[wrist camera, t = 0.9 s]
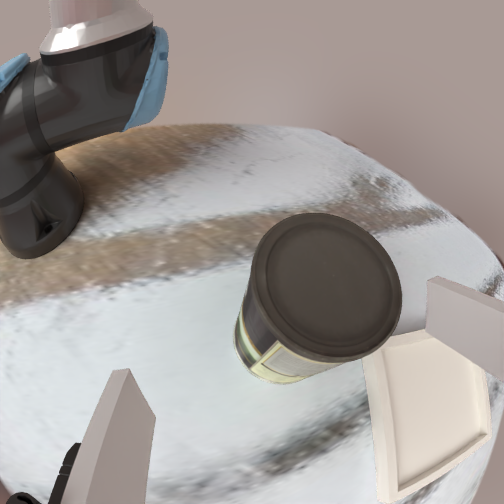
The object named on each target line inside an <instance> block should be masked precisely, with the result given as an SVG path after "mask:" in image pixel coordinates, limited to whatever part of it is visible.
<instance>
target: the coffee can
mask: <svg viewBox="0 0 504 504" xmlns="http://www.w3.org/2000/svg"><path fill="white" fill-rule="evenodd" d="M401 307H402V291H401V284H400V280H399V276H398V273H397V271H396V269H395V266H394V264H393V262H392V260H391V258H390V256H389V255H388V253H387V252H386V251H385V249H384V248H383V247H382V245H381V244H380V243H379V242H378V241H377V240H376V239H375V238H374V237H373V236H372V235H370V234H369V233H368V232H367V231H365V230H364V229H363V228H361V227H360V226H358V225H356V224H355V223H353V222H351V221H349V220H346V219H344V218H341V217H338V216H334V215H330V214H324V213H303V214H297V215H294V216H291V217H288V218H286V219H284V220H282V221H280V222H279V223H277V224H276V225H275V226H273V227H272V228H271V229H270V230H269V231H268V232H267V233H266V234H265V235H264V236H263V238H262V239H261V241H260V242H259V244H258V246H257V248H256V250H255V253H254V257H253V261H252V266H251V274H250V278H249V281H248V285H247V288H246V291H245V295H244V299H243V302H242V306H241V309H240V312H239V316H238V318H237V320H236V323H235V326H234V332H233V342H234V347H235V351H236V353H237V356H238V358H239V360H240V361H241V363H242V364H243V365H244V367H245V368H246V369H247V370H248V371H249V372H250V373H251V374H253V375H254V376H256V377H257V378H259V379H261V380H263V381H266V382H269V383H274V384H290V383H295V382H298V381H300V380H303V379H305V378H307V377H310V376H312V375H315V374H318V373H321V372H323V371H326V370H328V369H331V368H333V367H336V366H339V365H341V364H343V363H346V362H350V361H354V360H357V359H360V358H363V357H365V356H368V355H370V354H371V353H373V352H375V351H376V350H378V349H379V348H380V347H381V346H382V345H383V344H384V343H385V342H386V341H387V340H388V339H389V338H390V336H391V335H392V333H393V332H394V330H395V328H396V326H397V323H398V321H399V317H400V314H401Z"/></svg>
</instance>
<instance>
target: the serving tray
mask: <svg viewBox="0 0 504 504" xmlns="http://www.w3.org/2000/svg"><path fill="white" fill-rule="evenodd" d="M361 359H362V364H363V370H364V376H365V382H366V388H367V395H368V402H369V409H370V416H371V424H372V433H373V442H374V453H375V466H376V482H377V501H380V502H383V503H386V504H391V503H394V502H396V501H398V500H400V499H402V498H404V497H406V496H407V495H409V494H411V493H413V492H415V491H417V490H419V489H420V488H422V487H424V486H426V485H427V484H429V483H431V482H432V481H434V480H435V479H437V478H439V477H440V476H442V475H443V474H445V473H446V472H448V471H449V470H451V469H452V468H454V467H455V466H457V465H458V464H459V463H461V462H462V461H463V460H465V459H466V458H467V457H469V456H470V455H471V454H473V453H474V452H475V451H476V450H478V449H479V448H480V447H481V446H483V445H484V444H485V443H486V442H487V441H489V440H490V439H491V438H492V427H491V413H490V403H489V394H488V387H487V381H486V374H485V370H484V369H482V368H481V367H479V366H478V365H476V364H475V363H473V362H472V361H470V360H468V359H467V358H465V357H464V356H462V355H461V354H459V353H458V352H456V351H455V350H453V349H452V348H450V347H448V346H447V345H445V344H444V343H442V342H441V341H439V340H438V339H436V338H434V337H433V336H431V335H430V334H428V333H427V332H425V329H422V330H418V331H414V332H409V333H405V334H400V335H395V336H390V338H389V339H388V340H387V341H386V342H385V343H384V344H383V345H382V346H381V347H380V348H379V349H378V350H376V351H375V352H373V353H371V354H370V355H368V356H365V357H363V358H361Z"/></svg>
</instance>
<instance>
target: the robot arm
mask: <svg viewBox="0 0 504 504" xmlns="http://www.w3.org/2000/svg"><path fill="white" fill-rule="evenodd" d="M49 8H50V18H51V29H50V32H49V33H48V35H47V36H46V38H45V39H44V41H43V42H42V44H41V45H40V55H41V59H39V60H36V61H34V62H30V57H28V55H27V54H26V53H23V54H20V55H19V56H17V57H14V58H13V59H11V60H10V61H8V62H6V63H5V64H3V65H2V66H0V239H1V241H2V243H3V244H4V246H5V247H6V248H7V249H8V250H9V252H10V253H11V254H13V255H14V256H16V257H18V258H22V259H30V258H35V257H38V256H41V255H43V254H45V253H47V252H49V251H50V250H52V249H53V248H55V247H56V246H57V245H59V244H60V243H61V242H62V241H63V240H64V239H65V238H66V237H67V236H68V235H69V233H70V232H71V231H72V229H73V228H74V227H75V225H76V223H77V222H78V220H79V218H80V215H81V213H82V210H83V205H84V195H83V191H82V189H81V186H80V184H79V181H78V179H77V178H76V176H75V175H74V174H73V173H72V172H70V171H69V170H67V168H66V167H65V166H64V164H63V163H62V162H61V161H60V160H59V158H58V157H57V156H56V155H55V151H58V150H61V149H64V148H66V147H69V146H72V145H75V144H78V143H81V142H84V141H87V140H90V139H94V138H97V137H100V136H104V135H107V134H111V133H114V132H124V131H126V130H127V129H129V128H132V127H136V126H139V125H143V124H146V123H149V122H150V121H152V120H153V119H154V118H155V117H156V116H157V115H158V113H159V112H160V109H161V107H162V104H163V100H164V96H165V90H166V84H167V75H168V61H167V57H168V49H169V45H168V37H167V33H166V31H165V30H164V29H163V28H160V27H157V26H154V27H153V15H152V14H151V13H150V12H149V11H147V10H146V9H144V8H143V7H142V6H141V5H140V4H139V3H138V0H49ZM425 332H427V333H428V334H430V335H431V336H433V337H434V338H436V339H438V340H439V341H441V342H442V343H444V344H445V345H447V346H448V347H450V348H452V349H453V350H455V351H456V352H458V353H459V354H461V355H462V356H464V357H465V358H467V359H468V360H470V361H472V362H473V363H475V364H476V365H478V366H479V367H481V368H482V369H484V370H485V371H487V372H488V373H490V374H491V375H493V376H494V377H496V378H497V379H499V380H500V381H502V382H503V383H504V301H501V300H499V299H496V298H494V297H491V296H489V295H486V294H484V293H481V292H479V291H476V290H474V289H471V288H469V287H466V286H463V285H461V284H458V283H456V282H453V281H450V280H448V279H445V278H442V277H440V276H436V277H434V278H432V279H430V280H427V309H426V326H425ZM155 420H156V417H155V415H154V413H153V412H152V410H151V408H150V407H149V405H148V403H147V401H146V399H145V398H144V396H143V394H142V392H141V390H140V388H139V387H138V385H137V383H136V381H135V379H134V377H133V375H132V373H131V371H130V369H129V368H128V369H122V370H114V371H112V373H111V376H110V378H109V380H108V382H107V384H106V386H105V389H104V391H103V393H102V395H101V398H100V400H99V402H98V404H97V407H96V409H95V411H94V414H93V416H92V418H91V421H90V423H89V426H88V428H87V431H86V433H85V436H84V438H83V441H82V443H75V444H74V445H73V446H72V447H71V448H70V450H69V451H68V452H67V453H66V456H65V458H64V461H63V463H62V464H63V466H61V469H60V471H59V474H60V475H58V477H57V479H56V482H55V485H54V488H53V490H52V493H51V496H50V499H49V502H48V504H145V497H146V487H147V478H148V470H149V462H150V454H151V447H152V440H153V433H154V427H155ZM6 504H41V503H40V502H38V501H37V500H36V499H35V498H34V497H32V496H31V495H30V494H28V493H24V492H19V493H15V494H14V495H12V496H11V497H10V498H9V499H8V501H7V502H6Z"/></svg>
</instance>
